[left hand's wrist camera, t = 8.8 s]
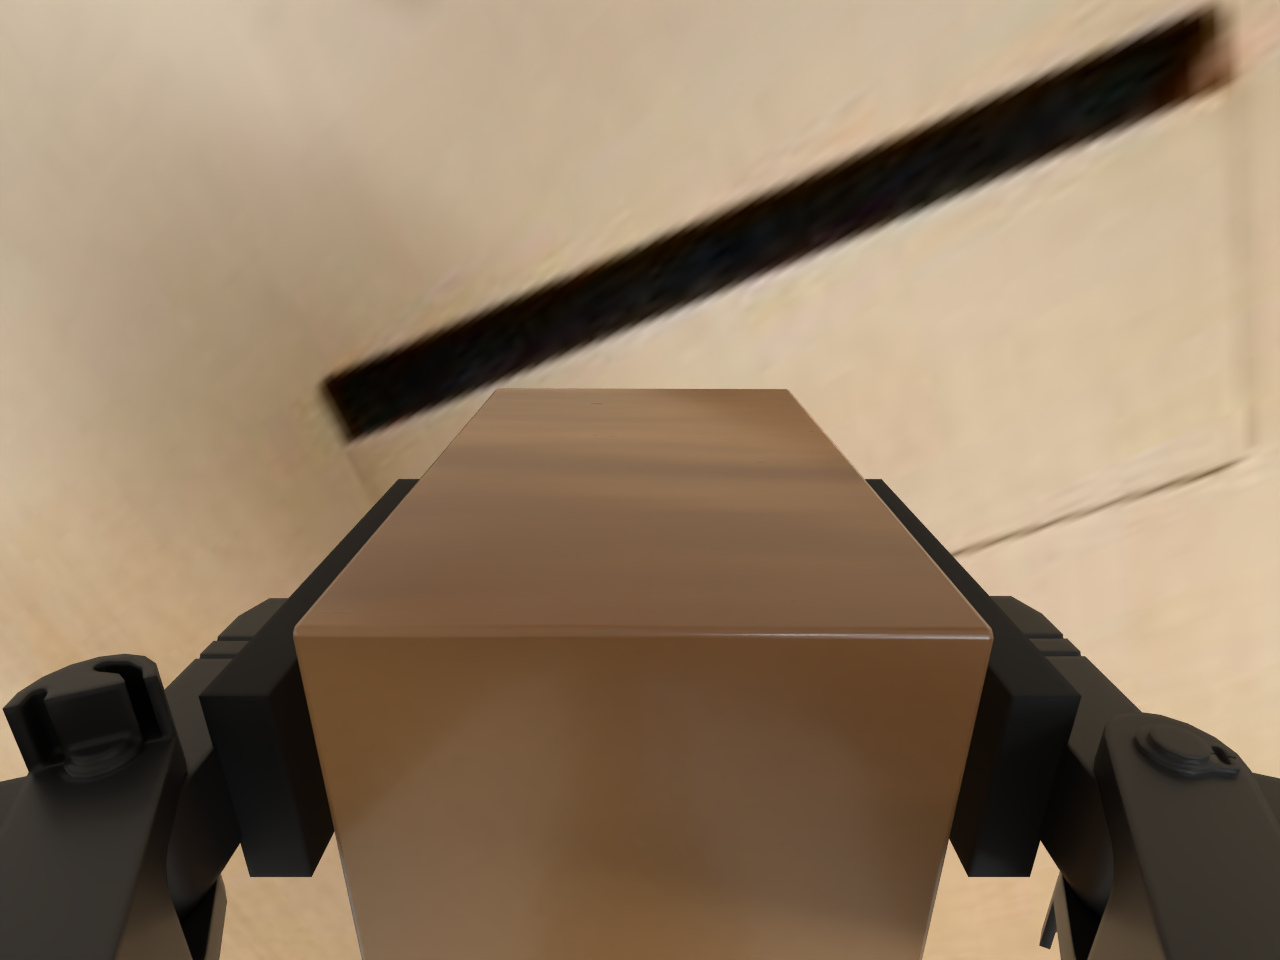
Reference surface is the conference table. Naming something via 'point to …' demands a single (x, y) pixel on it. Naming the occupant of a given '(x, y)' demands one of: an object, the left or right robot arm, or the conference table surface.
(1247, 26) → the conference table surface
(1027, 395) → the conference table surface
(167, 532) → the conference table surface
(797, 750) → the bar
